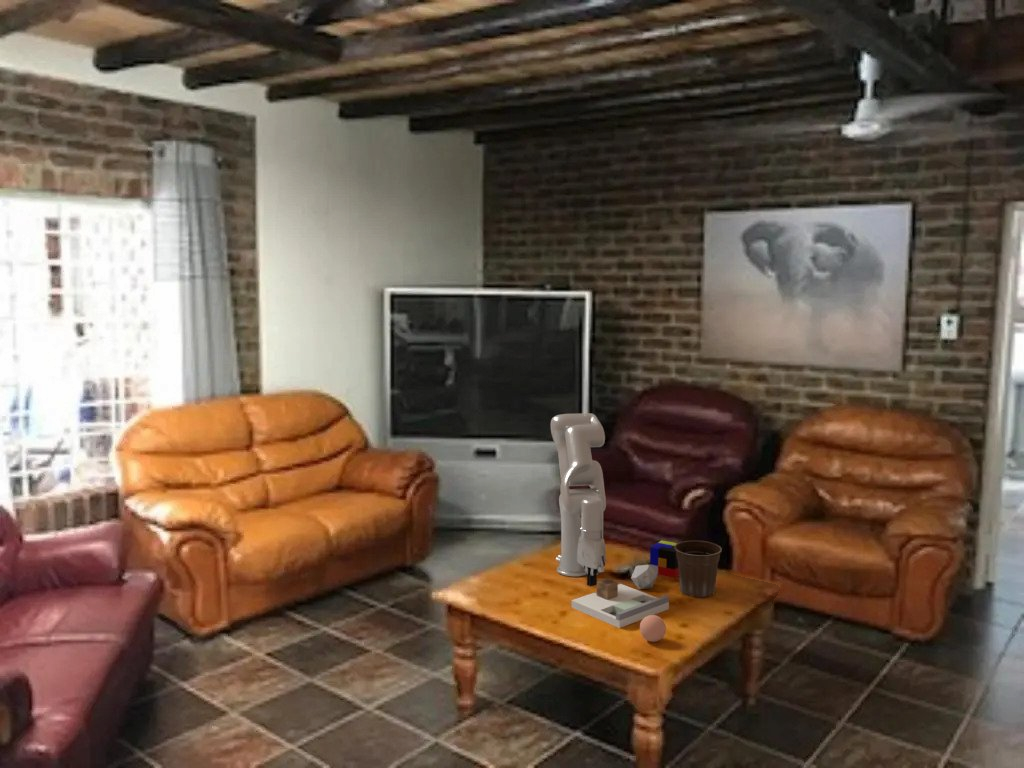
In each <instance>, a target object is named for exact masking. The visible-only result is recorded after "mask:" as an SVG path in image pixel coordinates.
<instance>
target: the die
mask: <svg viewBox="0 0 1024 768" xmlns="http://www.w3.org/2000/svg"><path fill="white" fill-rule="evenodd" d="M657 578H658V574H656V573H655V572H654V570H653V569H652V568H651V566H650V564H641V565H635V567H634V569H633V572H632V574H631V577H630V579H631V581H632V582H633V583H634V584H635V586H636V587H637V588H638V589H637V590H645V589H652V588H653V587H654V585H655V583H656V581H657Z"/></svg>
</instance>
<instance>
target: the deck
mask: <svg viewBox="0 0 1024 768" xmlns="http://www.w3.org/2000/svg"><path fill="white" fill-rule="evenodd" d="M570 602H571V606H570V607H571V609H573V610H576V611H579V612H581V613H583V614H586V615H588V616H591V617H593V618H595V619H597V620H599V621H602V622H604V623H607V624H609V625H611V626H614V627H615V628H618V629H620V628H623V627H625V626H628V625H630V624H631V625H632V624H634V623H636V622H639V621H642V620H643V619H644V618H645V617H646V616H649V615H658V614H661V613H662V612H664V611H668V610H669V609H670V596H669V595H667V594H664V595H661V596H659V597H656V596H654V595H651V594H649V593H646V592H644V591H641V590H639V589H635V588H633V587H630V586H627V585H625V584H622V583H618V596H617V597H614V598H612V599H609V600H606V599H604V598H601V597H599V596H597V591H596V592H592V593H589V594H586V595H583V596H581V597H578V598H575V599H571V601H570Z"/></svg>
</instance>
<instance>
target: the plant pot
mask: <svg viewBox="0 0 1024 768" xmlns="http://www.w3.org/2000/svg"><path fill="white" fill-rule="evenodd" d="M674 548H675V550H676V557H677V560H678V570H679V575H678V579H679V591H680V592H681V593H682V594H683V595H685V596H687V597H688V596H689V597H690V596H693V597H694V598H706V597H707V598H708V597H711V596H713V595H714V593H716V585H717V584H716V583H717V576H718V566H719V562H720V559H721V558H720V556H721V553H722V550H723V547H721V546H720V545H718V544H717V543H715V542H714V543H713V542H712V541H711V542H710V541H706V540H705V541H704V540H684V541H680V542H678V543H677V544H676V545H675V546H674Z"/></svg>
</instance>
